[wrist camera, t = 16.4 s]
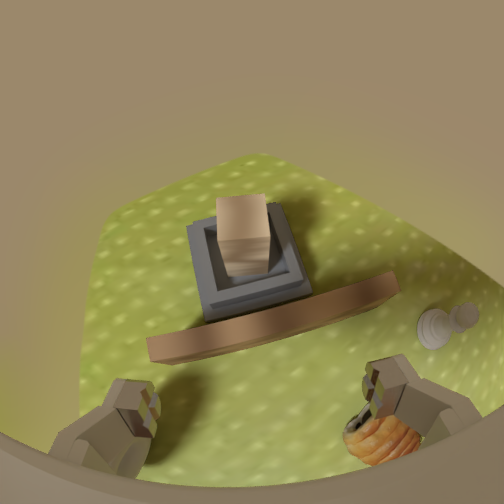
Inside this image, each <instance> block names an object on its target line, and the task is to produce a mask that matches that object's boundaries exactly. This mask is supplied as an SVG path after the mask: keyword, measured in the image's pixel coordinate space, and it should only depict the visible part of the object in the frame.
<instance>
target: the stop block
mask: <svg viewBox="0 0 504 504" xmlns="http://www.w3.org/2000/svg"><path fill="white" fill-rule="evenodd" d="M216 210H217V241H218V245H219V248H220V251H221V255H222V258H223V261H224V265H225V268H226V271H227V275H228V277H235V276H247V275H258V274H268V263H269V249H270V230H269V222H268V215H267V207H266V200H265V194H255V195H243V196H232V197H222V198H216Z"/></svg>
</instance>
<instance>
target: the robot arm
mask: <svg viewBox="0 0 504 504" xmlns="http://www.w3.org/2000/svg"><path fill="white" fill-rule="evenodd" d="M365 371H366V373H367V374H366V375H365V376H364V377H363V381H362V391H363V395H364V397H365V400H367V401H369V402H370V406H369V409H370V411H371V413H372V416H373V418H374V420H376V419H380V418H383V417H387V416H391V415H394V416H395V417H396V418H398V419H399V420H401V421H402V422H403V423H405V424H406V425H408V426H409V427H410V428H412V429H413V430H415V431H416V432H418V433H419V434H421V435H422V436H424V437H425V438H424V440H423V442H422V443H421V445H420V446H419V448H418V450H417V451H415V452H412V453H410V454H407V455H405V456H402V457H399V458H396V459H393V460H390V461H388V462H384V463H381V464H378V465H375V466H371V467H368V468H364V469H361V470H357V471H353V472H349V473H345V474H341V475H336V476H331V477H326V478H321V479H316V480H310V481H303V482H296V483H288V484H280V485H269V486H254V487H199V486H184V485H173V484H165V483H157V482H150V481H144V480H138V479H132V478H127V477H122V476H118V475H117V474H116V472H115V471H114V470H113V469H112V468H111V467H110V466H109V465H108V464H109V463H110V462H111V461H112V460H113V459H114V458H115V457H116V456H117V455H118V454H119V453H120V452H121V451H122V450H123V449H124V448H125V447H126V446H127V445H128V444H129V443H130V442H131V441H132V440H133V439H134V438H135V437H144V438H154V437H155V433H156V429H157V424H156V422H155V421H156V420H157V419H158V418H159V417H160V414H161V402H160V399H159V396H158V395H157V394H156V393H154V389H155V387H154V385H153V383H152V382H151V381H143V380H131V379H119V378H116V379H115V380H114V381H113V383H112V385H111V387H110V389H109V391H108V393H107V396H106V398H105V400H104V402H103V404H102V406H98V407H96V408H95V409H93V410H92V411H90V412H89V413H87V414H86V415H84V416H83V417H81V418H80V419H78V420H77V421H75V422H74V423H72V424H71V425H69V426H68V427H66V428H64V429H63V430H61V431H60V432H59V433H58V435H57V437H56V439H55V441H54V443H53V445H52V447H51V449H50V451H49V453H48V454H46V453H44V452H41V451H39V450H36V449H34V448H32V447H29V446H27V445H25V444H23V443H21V442H19V441H17V440H15V439H12V438H11V437H9V436H7V435H5V434H3V433H1V432H0V504H504V405H502V406H501V407H499V408H498V409H496V410H495V411H493V412H492V413H490V414H488V415H487V416H485V417H484V418H482V416H481V415H480V413H479V412H478V410H477V409H476V408H475V406H474V405H473V403H472V402H471V401H470V399H469V398H468V397H465V396H463V395H461V394H458V393H456V392H454V391H451V390H449V389H447V388H445V387H442V386H440V385H438V384H436V383H433V382H431V381H429V380H427V379H425V378H423V379H420V377H419V376H418V374H417V373H416V371H415V370H414V368H413V367H412V366H411V364H410V363H409V361H408V360H407V358H406V357H405V356H404V355H403V354H399V355H395V356H391V357H387V358H383V359H379V360H375V361H371V362H367V364H366V367H365Z"/></svg>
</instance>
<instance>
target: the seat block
mask: <svg viewBox="0 0 504 504" xmlns="http://www.w3.org/2000/svg"><path fill="white" fill-rule="evenodd" d="M266 207H267V215H268V222H269V230H270V249H269V263H268V274H258V275H247V276H235V277H228V275H227V271H226V268H225V265H224V261H223V258H222V255H221V251H220V248H219V245H218V241H217V216H214V217H210V218H206V219H203V220H199V221H195V222H193V224H192V225H189V226H186V227H187V233H188V239H189V244H190V250H191V255H192V260H193V266H194V271H195V276H196V281H197V286H198V291H199V295H200V300H201V305H202V309H203V314H204V318H205V322H206V323H209V322H213V321H218V320H222V319H226V318H230V317H234V316H238V315H242V314H245V313H249V312H253V311H257V310H261V309H264V308H268V307H272V306H275V305H279V304H282V303H286V302H290V301H293V300H296V299H300V298H303V297H307V296H310V295H312V293H313V291H312V288H311V285H310V282H309V279H308V276H307V274H306V271H305V268H304V265H303V262H302V260H301V257H300V254H299V251H298V249H297V246H296V243H295V240H294V238H293V235H292V232H291V230H290V227H289V224H288V222H287V219H286V217H285V214H284V211H283V209H282V206H281V204H280V203H279V204H276V202H273V203H269V204H266Z"/></svg>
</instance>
